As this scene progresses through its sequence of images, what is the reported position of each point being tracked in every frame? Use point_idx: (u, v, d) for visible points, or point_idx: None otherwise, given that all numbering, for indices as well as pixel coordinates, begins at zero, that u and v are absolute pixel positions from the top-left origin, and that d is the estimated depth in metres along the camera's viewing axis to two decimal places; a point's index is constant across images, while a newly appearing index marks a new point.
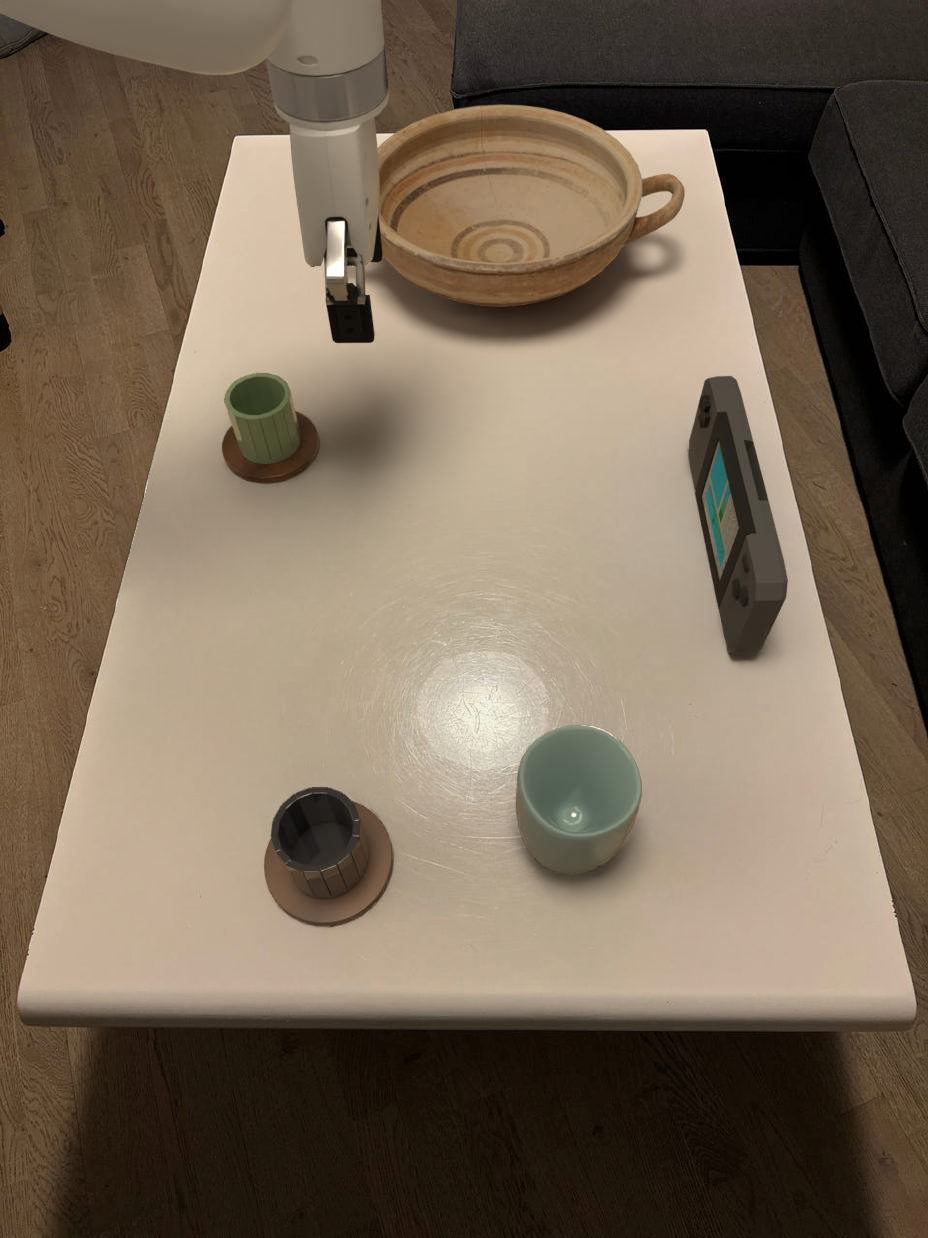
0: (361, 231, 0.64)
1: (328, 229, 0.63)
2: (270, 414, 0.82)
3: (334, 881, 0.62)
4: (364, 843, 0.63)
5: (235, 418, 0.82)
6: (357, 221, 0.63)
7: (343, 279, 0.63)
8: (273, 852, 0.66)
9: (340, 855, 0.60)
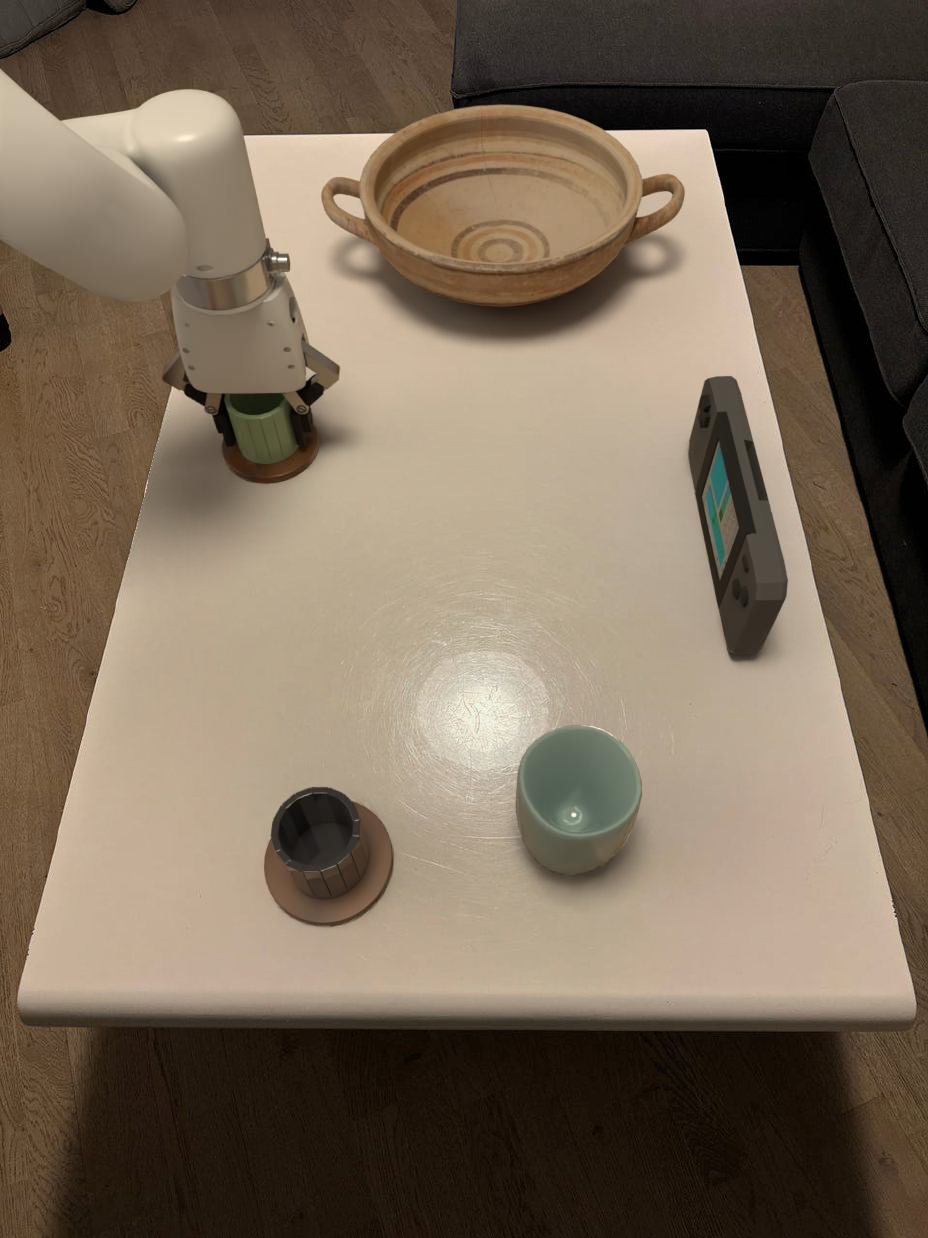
0: (182, 362, 0.78)
1: None
2: (270, 414, 0.82)
3: (334, 881, 0.62)
4: (364, 843, 0.63)
5: (235, 418, 0.82)
6: (180, 353, 0.78)
7: (162, 377, 0.81)
8: (273, 852, 0.66)
9: (340, 855, 0.60)
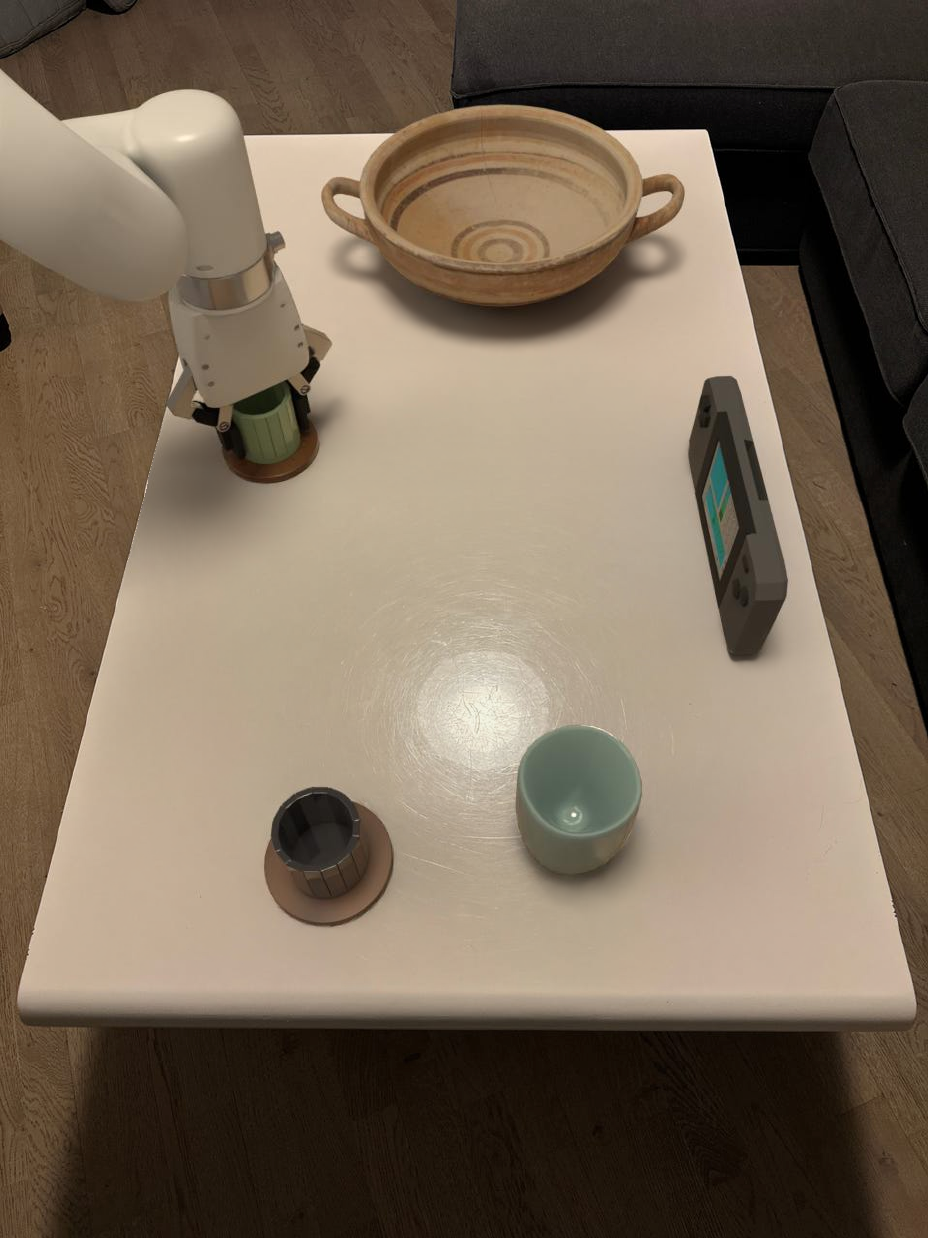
0: (198, 382, 0.77)
1: (184, 370, 0.78)
2: (284, 404, 0.83)
3: (334, 881, 0.62)
4: (364, 843, 0.63)
5: (252, 422, 0.82)
6: (195, 374, 0.76)
7: (172, 412, 0.79)
8: (273, 852, 0.66)
9: (340, 855, 0.60)
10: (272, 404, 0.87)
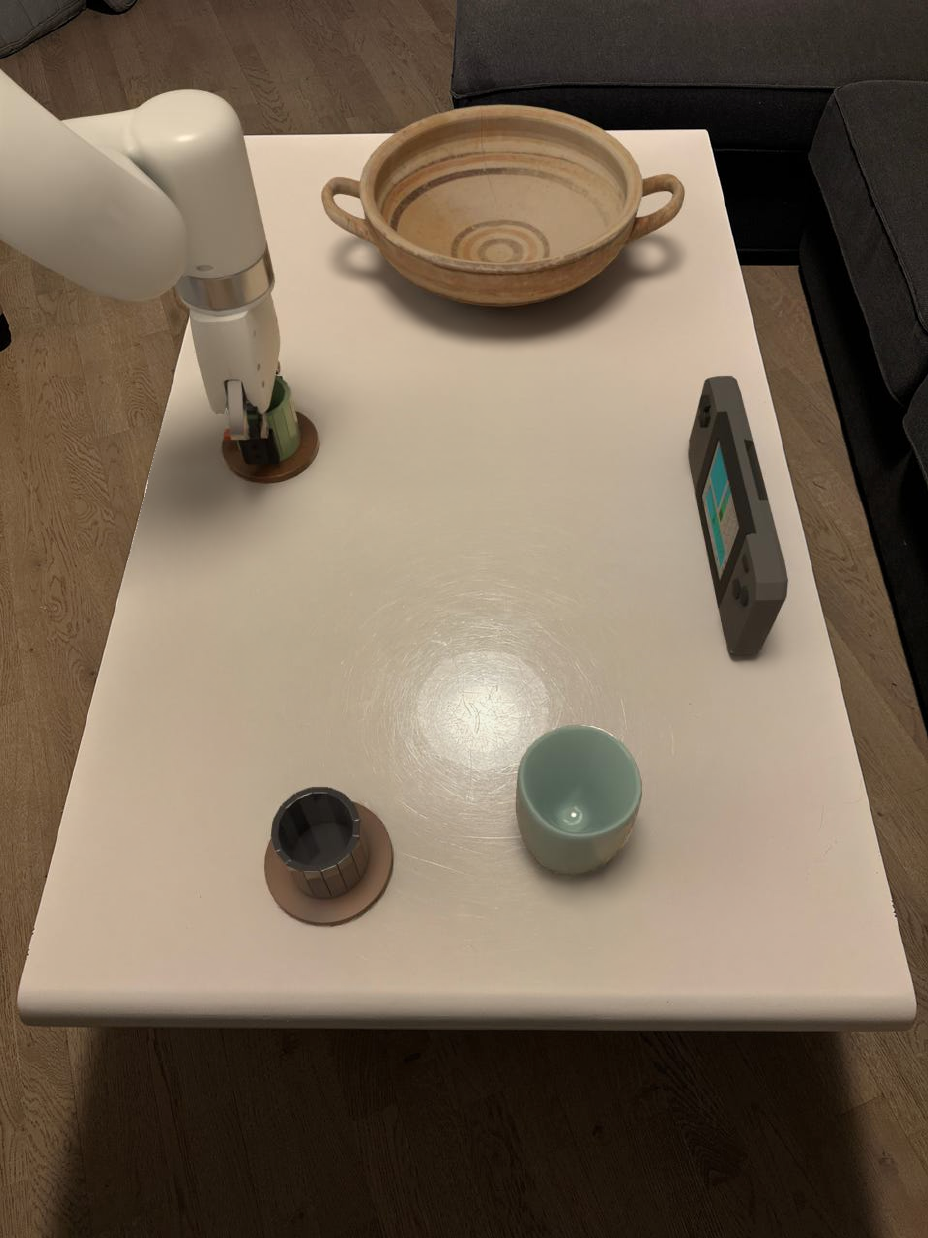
0: (255, 389, 0.76)
1: (228, 393, 0.76)
2: (286, 383, 0.84)
3: (334, 881, 0.62)
4: (364, 843, 0.63)
5: (282, 413, 0.83)
6: (250, 382, 0.76)
7: (244, 436, 0.77)
8: (273, 852, 0.66)
9: (340, 855, 0.60)
10: None
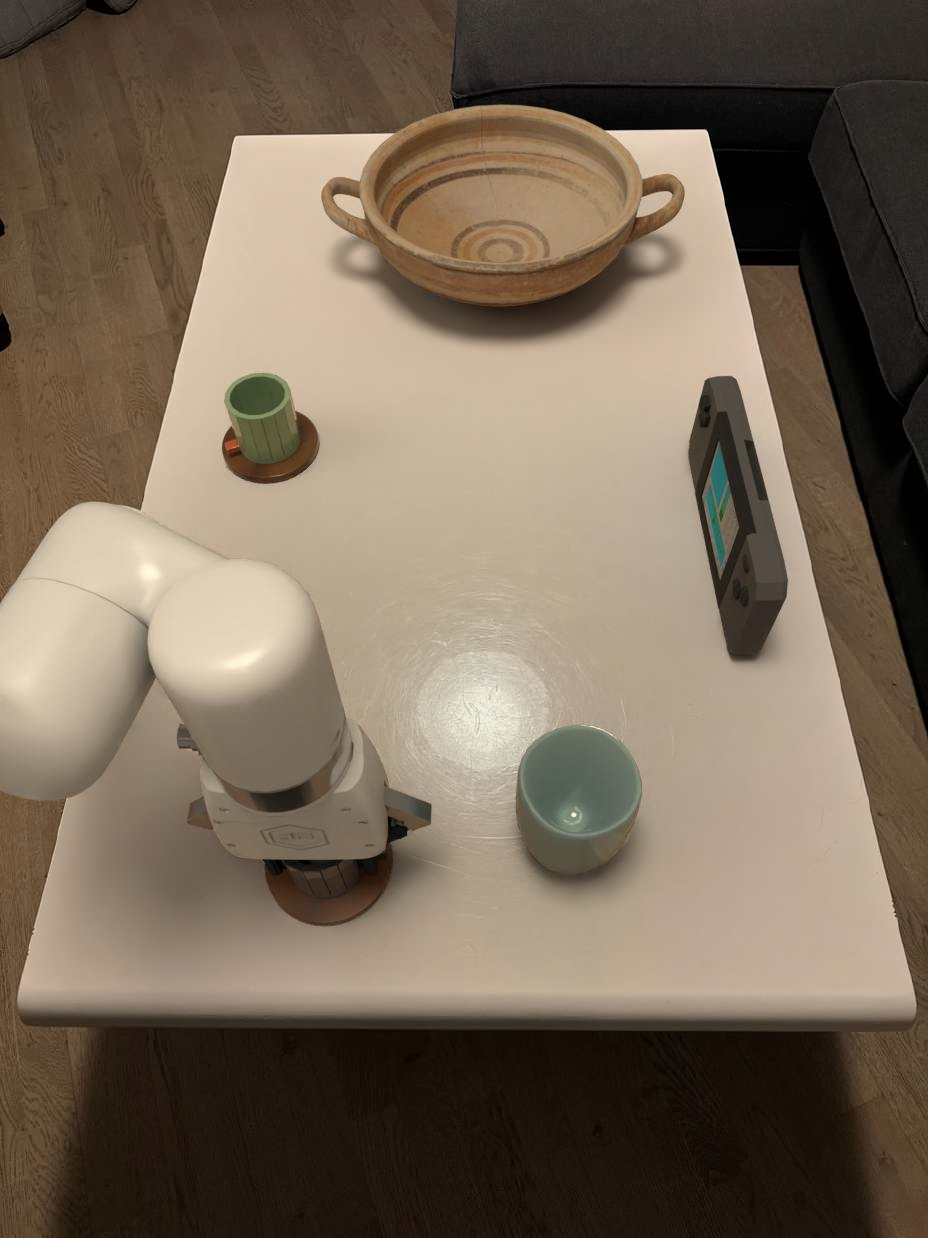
0: (385, 772, 0.58)
1: (389, 805, 0.56)
2: (277, 376, 0.85)
3: (334, 881, 0.62)
4: None
5: (289, 403, 0.83)
6: (384, 770, 0.57)
7: None
8: None
9: None
10: None
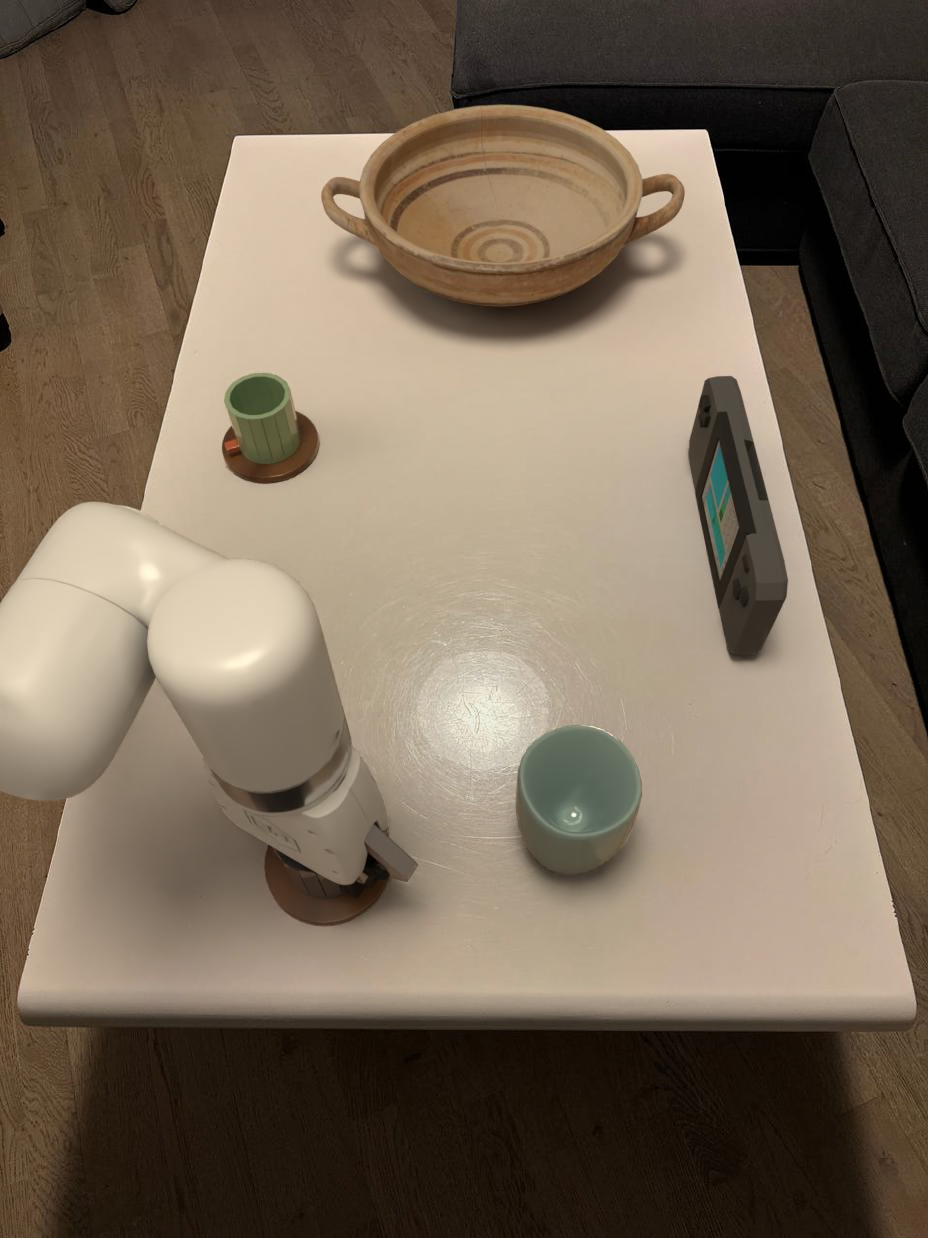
0: (385, 813, 0.56)
1: (371, 846, 0.55)
2: (277, 376, 0.85)
3: (312, 884, 0.62)
4: None
5: (289, 403, 0.83)
6: (382, 811, 0.55)
7: (416, 864, 0.57)
8: (273, 852, 0.66)
9: None
10: None
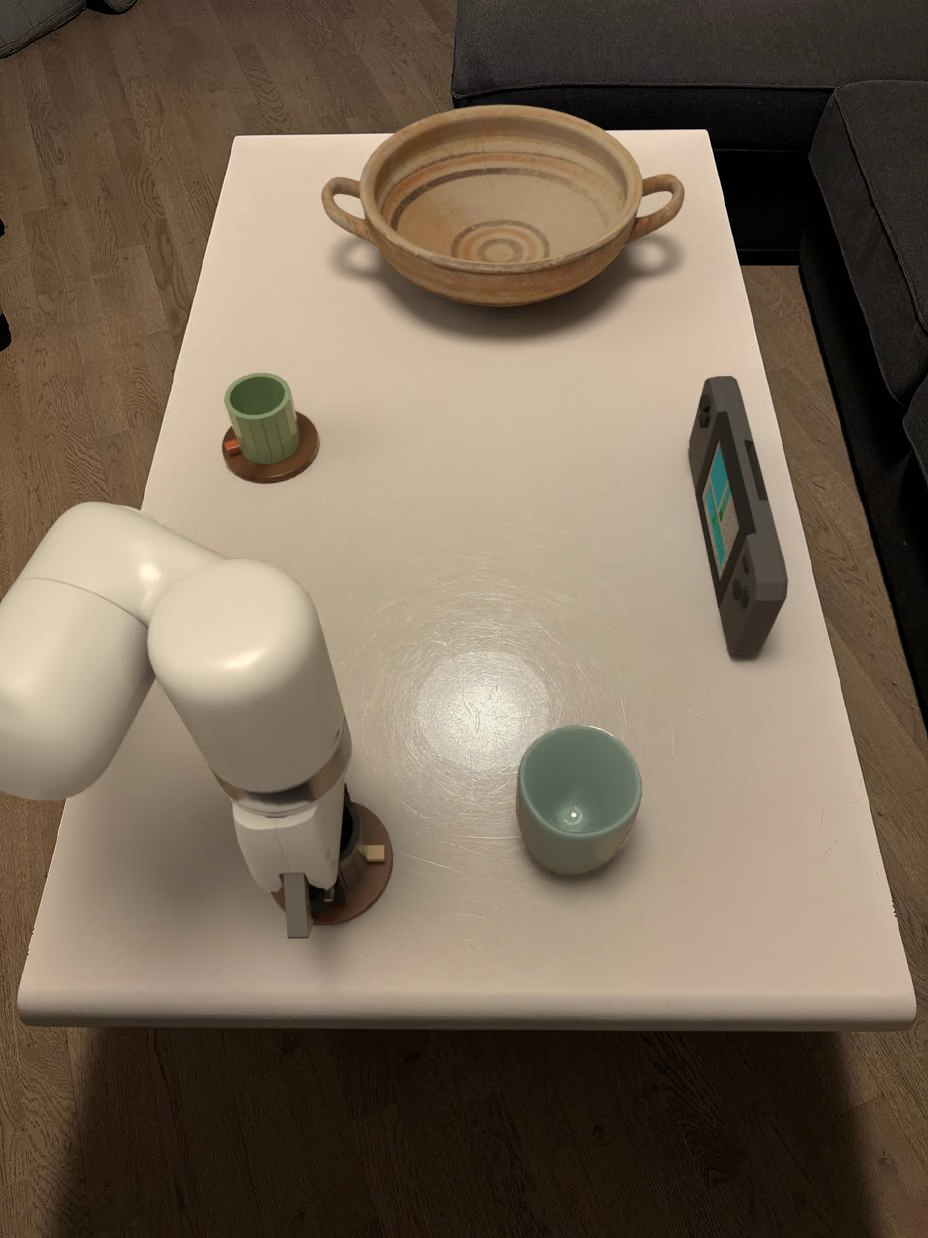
0: (322, 877, 0.54)
1: (285, 884, 0.54)
2: (277, 376, 0.85)
3: None
4: None
5: (289, 403, 0.83)
6: (317, 873, 0.53)
7: (307, 936, 0.55)
8: None
9: None
10: None
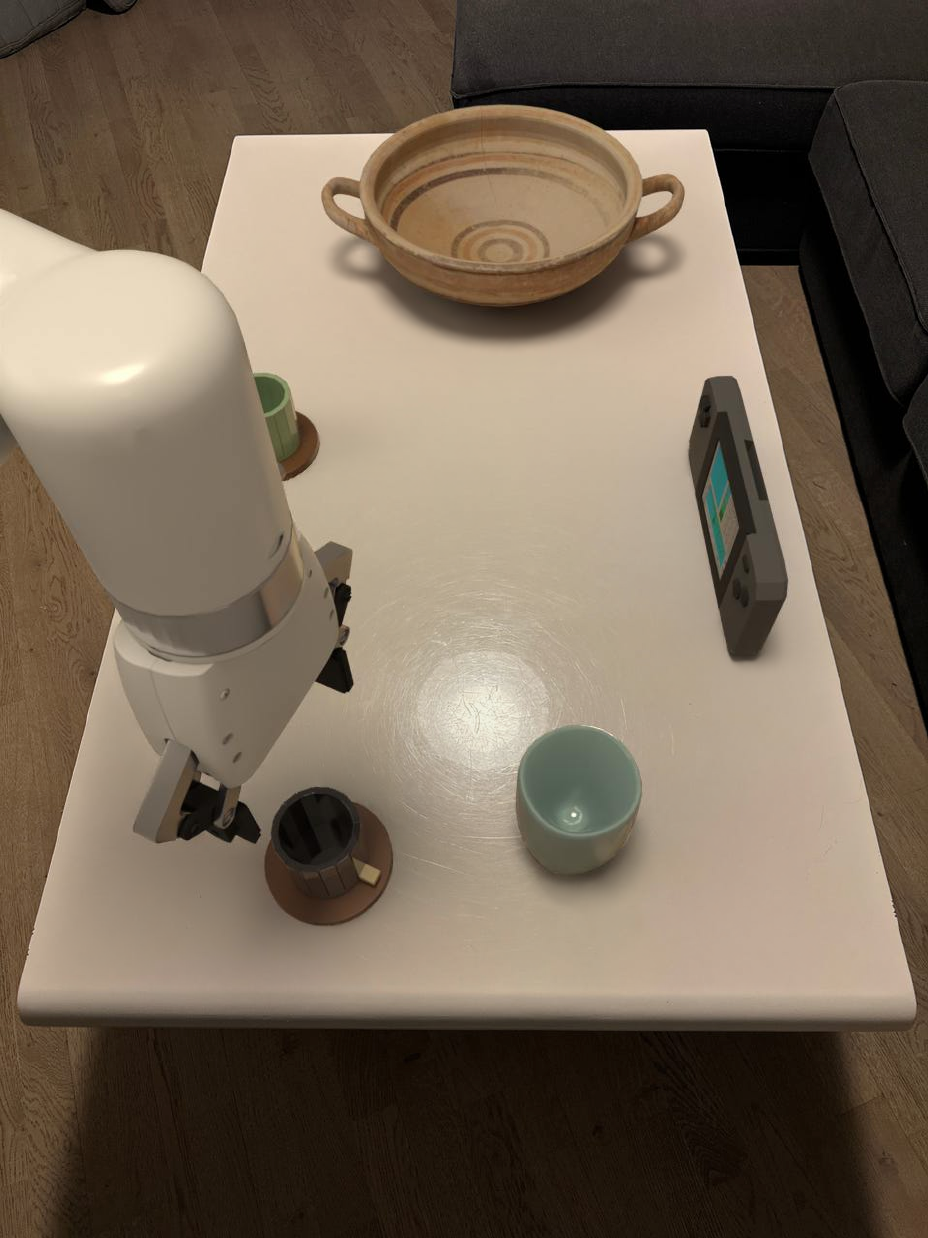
0: (216, 766, 0.41)
1: (164, 753, 0.41)
2: (277, 376, 0.85)
3: None
4: (298, 880, 0.62)
5: (289, 403, 0.83)
6: (208, 757, 0.40)
7: (155, 838, 0.40)
8: (273, 852, 0.66)
9: (277, 840, 0.61)
10: None
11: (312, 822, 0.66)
